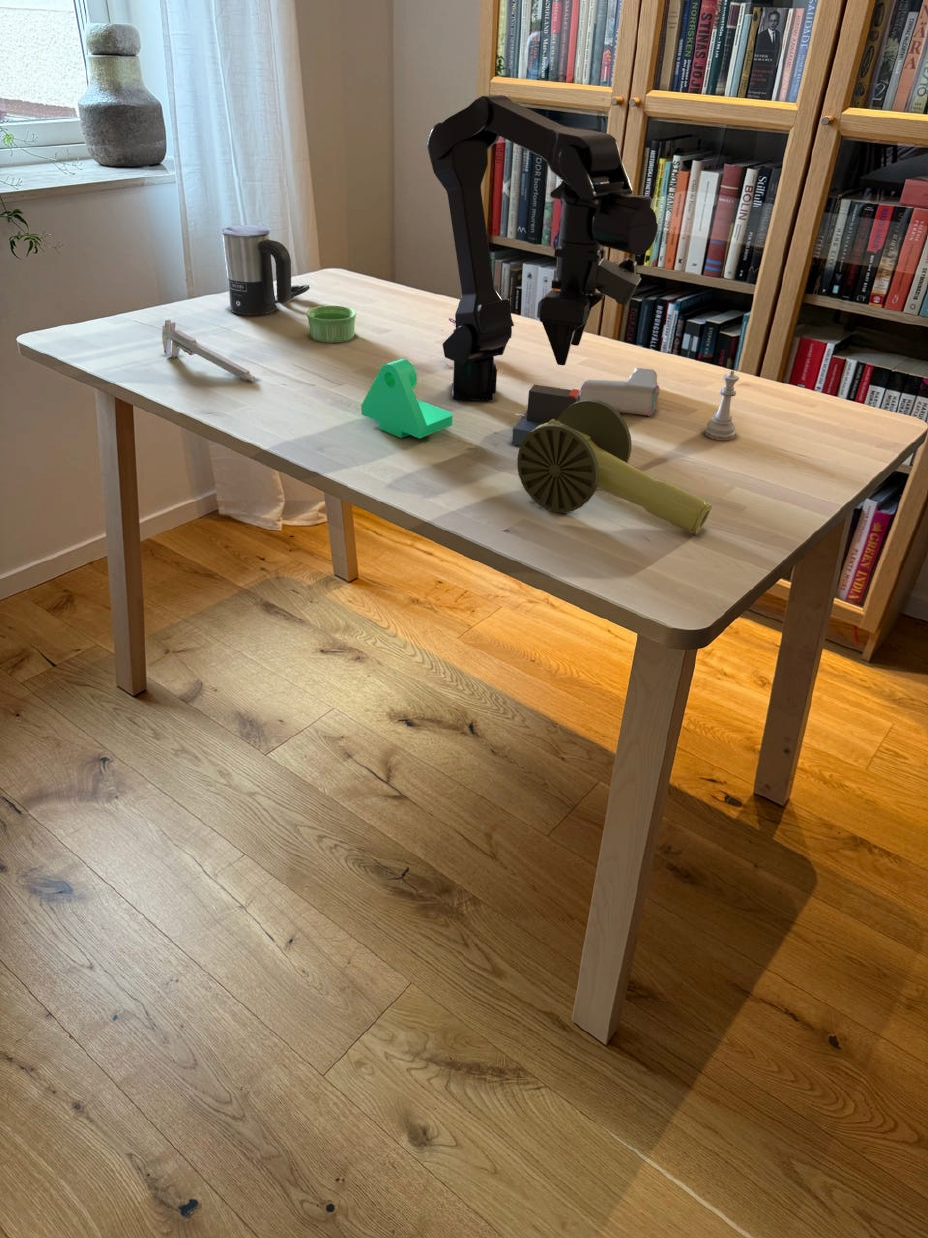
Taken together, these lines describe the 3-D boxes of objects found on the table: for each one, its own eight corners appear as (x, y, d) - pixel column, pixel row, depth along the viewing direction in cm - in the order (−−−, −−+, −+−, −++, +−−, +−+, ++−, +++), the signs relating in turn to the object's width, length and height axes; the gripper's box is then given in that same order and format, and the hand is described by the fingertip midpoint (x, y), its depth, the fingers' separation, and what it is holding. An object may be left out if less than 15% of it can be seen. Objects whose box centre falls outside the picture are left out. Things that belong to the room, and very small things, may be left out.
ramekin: (330, 325, 179) (329, 302, 177) (366, 335, 175) (366, 312, 172) (297, 336, 173) (296, 312, 170) (334, 347, 169) (333, 322, 166)
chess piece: (698, 431, 144) (710, 366, 138) (722, 427, 145) (735, 364, 139) (715, 442, 140) (729, 377, 135) (739, 438, 142) (754, 373, 136)
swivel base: (503, 444, 136) (504, 427, 135) (524, 417, 145) (525, 400, 144) (592, 460, 133) (594, 442, 132) (607, 431, 142) (610, 414, 141)
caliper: (164, 355, 162) (159, 318, 158) (169, 353, 163) (164, 317, 159) (251, 382, 153) (248, 344, 149) (256, 380, 154) (252, 342, 150)
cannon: (719, 516, 121) (737, 433, 114) (686, 554, 112) (703, 467, 106) (545, 466, 131) (553, 387, 124) (503, 498, 122) (509, 415, 116)
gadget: (526, 420, 138) (528, 389, 135) (531, 413, 140) (534, 382, 137) (573, 428, 136) (576, 396, 133) (577, 420, 138) (581, 389, 136)
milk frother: (221, 313, 182) (212, 232, 174) (249, 291, 195) (243, 215, 187) (292, 320, 181) (287, 238, 173) (316, 297, 194) (312, 221, 185)
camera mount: (455, 430, 140) (457, 363, 134) (419, 445, 135) (420, 375, 129) (397, 408, 146) (397, 342, 140) (361, 421, 141) (360, 353, 136)
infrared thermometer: (657, 391, 159) (655, 419, 146) (585, 383, 161) (577, 410, 148) (661, 364, 157) (659, 390, 144) (588, 357, 159) (580, 381, 146)
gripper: (629, 262, 116) (612, 384, 125) (651, 231, 131) (635, 343, 140) (541, 251, 119) (531, 372, 127) (572, 223, 133) (561, 333, 142)
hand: (568, 354), depth 134 cm, fingers open, 9 cm apart
